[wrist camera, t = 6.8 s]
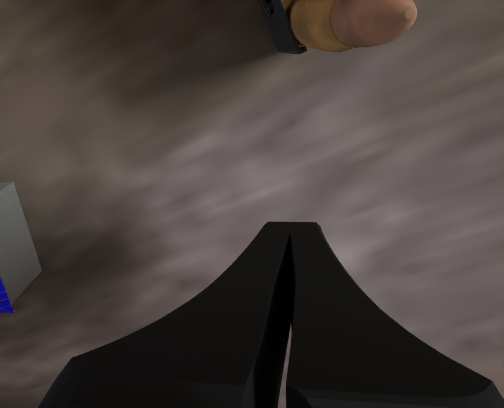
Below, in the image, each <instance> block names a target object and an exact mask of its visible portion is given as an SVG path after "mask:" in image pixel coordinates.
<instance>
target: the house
mask: <svg viewBox="0 0 504 408" xmlns="http://www.w3.org/2000/svg"><path fill="white" fill-rule="evenodd" d="M41 272H42V268H41V265H40V262H39V259H38V256H37V253H36V250H35V247H34V244H33V241H32V238H31V234H30V231H29V228H28V225H27V222H26V219H25V216H24V213H23V210H22V207H21V204H20V200H19V197H18V194H17V191H16V188H15V185H14V182H0V312H10V313H14V311H15V310H13V309H12V307H11V305H12V303H13V302H14V301H15V300H16V299H17V298H18V297H19V296H20V295H21V293H22V292H23V291H24V290H25V289H26V288H27V287H28V286H29V285H30V284H31V283H32V281H33V280H34V279H35V278H36V277H37V276H38V275H39V274H40V273H41Z"/></svg>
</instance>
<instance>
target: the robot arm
mask: <svg viewBox="0 0 504 408" xmlns="http://www.w3.org/2000/svg"><path fill="white" fill-rule="evenodd" d="M290 325H291V328H292V337H291V347H290V356H289V364H288V373H287V380H286V408H504V399H503V397H502V396H501V394H500V393H499V391H498V389H497V388H496V386H495V385H494V383H493V382H492V381H491V380H489V379H487V378H486V377H484V376H482V375H480V374H478V373H476V372H474V371H473V370H471V369H469V368H467V367H465V366H463V365H461V364H459V363H458V362H456V361H454V360H452V359H450V358H448V357H446V356H445V355H443V354H441V353H440V352H438V351H437V350H435V349H434V348H432V347H431V346H429V345H427V344H426V343H424V342H423V341H421V340H420V339H418V338H417V337H415V336H414V335H413V334H411V333H410V332H408V331H407V330H406V329H404V328H403V327H402V326H401V325H399V324H398V323H397V322H396V321H394V320H393V319H392V318H390V317H389V316H388V315H387V314H386V313H384V312H383V311H382V310H381V309H380V308H379V307H378V306H377V305H376V304H375V303H374V302H373V301H372V300H371V299H370V298H369V297H368V296H367V295H366V294H365V293H364V292H363V291H362V290H361V288H360V287H359V286H358V285H357V284H356V283H355V281H354V280H353V279H352V278H351V276H350V275H349V274H348V273H347V271H346V270H345V269H344V267H343V266H342V264H341V263H340V262H339V260H338V259H337V257H336V256H335V254H334V253H333V251H332V249H331V248H330V246H329V244H328V242H327V241H326V239H325V237H324V235H323V232H322V230H321V227H320V226H319V225H318V224H317V223H316V222H267V223H266V224H265V225H264V226H263V228H262V229H261V230H260V232H259V233H258V234H257V236H256V237H255V238H254V240H253V241H252V242H251V243H250V244H249V246H248V247H247V248H246V249H245V250H244V251H243V253H242V254H241V255H240V256H239V257H238V258H237V259H236V260H235V262H234V263H233V264H232V265H231V266H230V267H229V268H227V269H226V270H225V271H224V272H223V273H222V274H221V275H220V276H219V277H218V278H217V279H216V280H215V281H214V282H213V283H212V284H210V285H209V286H208V287H207V288H206V289H204V290H203V291H202V292H201V293H199V294H198V295H197V296H195V297H194V298H192V299H191V300H190V301H188V302H186V303H185V304H183V305H182V306H180V307H179V308H177V309H175V310H174V311H172V312H171V313H169V314H167V315H166V316H164V317H163V318H161V319H159V320H157V321H155V322H153V323H152V324H150V325H148V326H146V327H144V328H142V329H140V330H138V331H136V332H134V333H132V334H130V335H128V336H125V337H123V338H121V339H119V340H116V341H114V342H111V343H109V344H106V345H104V346H101V347H99V348H96V349H94V350H91V351H89V352H86V353H84V354H81V355H78V356H75V357H72V358H71V359H70V361H69V362H68V363H67V365H66V366H65V368H64V369H63V370H62V372H61V373H60V374H59V376H58V377H57V378H56V380H55V381H54V383H53V384H52V386H51V388H50V389H49V391H48V392H47V394H46V395H45V397H44V399H43V400H42V402H41V403H40V405H39V407H38V408H278V400H279V393H280V387H281V381H282V375H283V368H284V362H285V356H286V350H287V344H288V338H289V331H290Z"/></svg>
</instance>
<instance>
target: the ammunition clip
mask: <svg viewBox="0 0 504 408" xmlns="http://www.w3.org/2000/svg"><path fill="white" fill-rule="evenodd" d="M258 2H259V4H260V7H261V9H262V11H263V14H264V16H265V19H266V21H267V24H268V26H269V28H270V31H271V33H272V36H273V38H274V41H275V43H276V46H277V48H278V50H279V51H280V52H282V53H292V54H302V53H304V52H306V51H307V48H306V47H310V48H315V49H319V50H324V51H331V52H342V51H346V50H349V49H352V48H358V47H373V46H377V45H381V44H385V43H388V42H391V41H393V40H395V39H397V38H398V37H399V36H401V35H402V34H404V33H405V32H406V31H408V30H409V29H410V27H411V26H412V25H413V23H414V22H415V19H416V16H417V9H416V6H415V4H414V2H413V1H412V0H258ZM299 45H300V46H305V47H299Z"/></svg>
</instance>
